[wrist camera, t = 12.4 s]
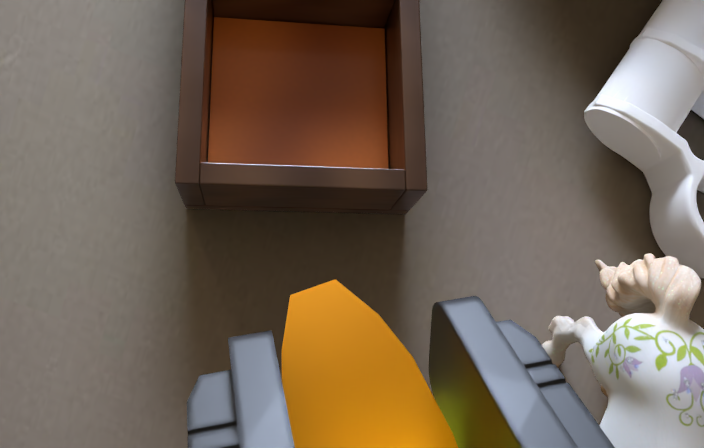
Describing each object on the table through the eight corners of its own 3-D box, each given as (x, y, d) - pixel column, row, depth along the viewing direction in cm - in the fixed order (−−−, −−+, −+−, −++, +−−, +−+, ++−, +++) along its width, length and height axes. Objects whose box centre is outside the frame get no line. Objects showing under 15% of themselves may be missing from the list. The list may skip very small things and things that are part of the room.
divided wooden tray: (185, 209, 31) (174, 183, 27) (203, -150, 36) (196, -219, 32) (406, 214, 33) (427, 190, 28) (394, -130, 37) (411, -193, 33)
